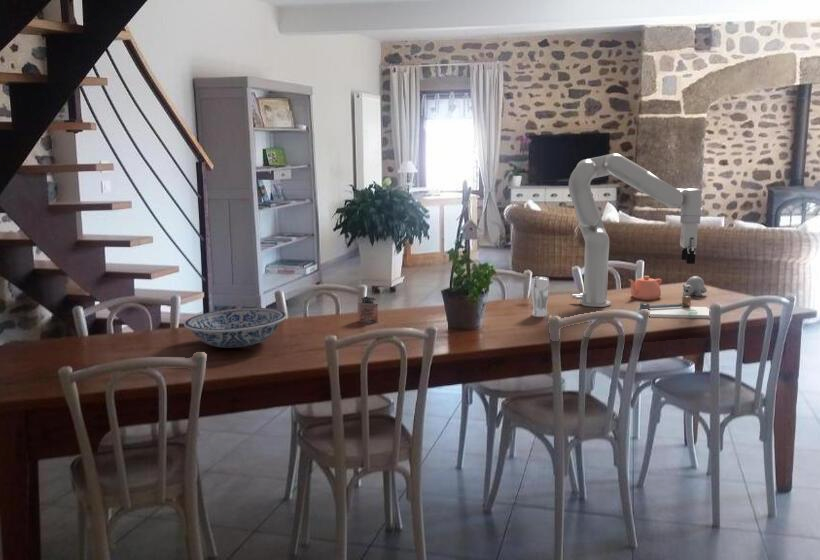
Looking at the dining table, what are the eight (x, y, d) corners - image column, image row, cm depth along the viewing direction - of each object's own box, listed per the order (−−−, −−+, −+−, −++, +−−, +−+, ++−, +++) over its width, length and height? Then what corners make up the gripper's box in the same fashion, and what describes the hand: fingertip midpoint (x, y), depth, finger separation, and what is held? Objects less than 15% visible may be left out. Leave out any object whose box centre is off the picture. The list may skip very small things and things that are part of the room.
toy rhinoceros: (678, 301, 330) (674, 284, 328) (696, 288, 335) (692, 272, 332) (691, 304, 324) (687, 287, 321) (710, 291, 329) (705, 274, 326)
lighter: (357, 321, 291) (356, 296, 289) (362, 319, 294) (361, 294, 292) (375, 323, 287) (375, 297, 285) (380, 321, 290) (379, 296, 288)
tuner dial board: (645, 317, 290) (645, 314, 290) (639, 308, 306) (639, 305, 306) (716, 319, 286) (716, 316, 286) (706, 309, 302) (706, 306, 302)
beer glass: (547, 313, 300) (548, 276, 297) (549, 317, 293) (550, 279, 290) (530, 313, 300) (530, 276, 298) (531, 317, 294) (531, 279, 291)
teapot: (670, 298, 326) (671, 276, 324) (637, 302, 318) (638, 280, 317) (650, 293, 336) (651, 272, 335) (618, 297, 329) (619, 275, 327)
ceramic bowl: (224, 329, 281) (223, 303, 280) (305, 337, 269) (304, 309, 267) (163, 353, 250) (161, 324, 248) (252, 363, 238) (250, 332, 236)
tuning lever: (642, 310, 297) (643, 300, 296) (638, 308, 300) (638, 298, 299) (692, 307, 300) (692, 297, 300) (687, 305, 304) (687, 295, 303)
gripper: (676, 217, 311) (674, 258, 314) (684, 221, 294) (682, 265, 298) (695, 217, 310) (693, 258, 313) (704, 221, 293) (702, 265, 296)
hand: (688, 261), depth 305 cm, fingers open, 9 cm apart
